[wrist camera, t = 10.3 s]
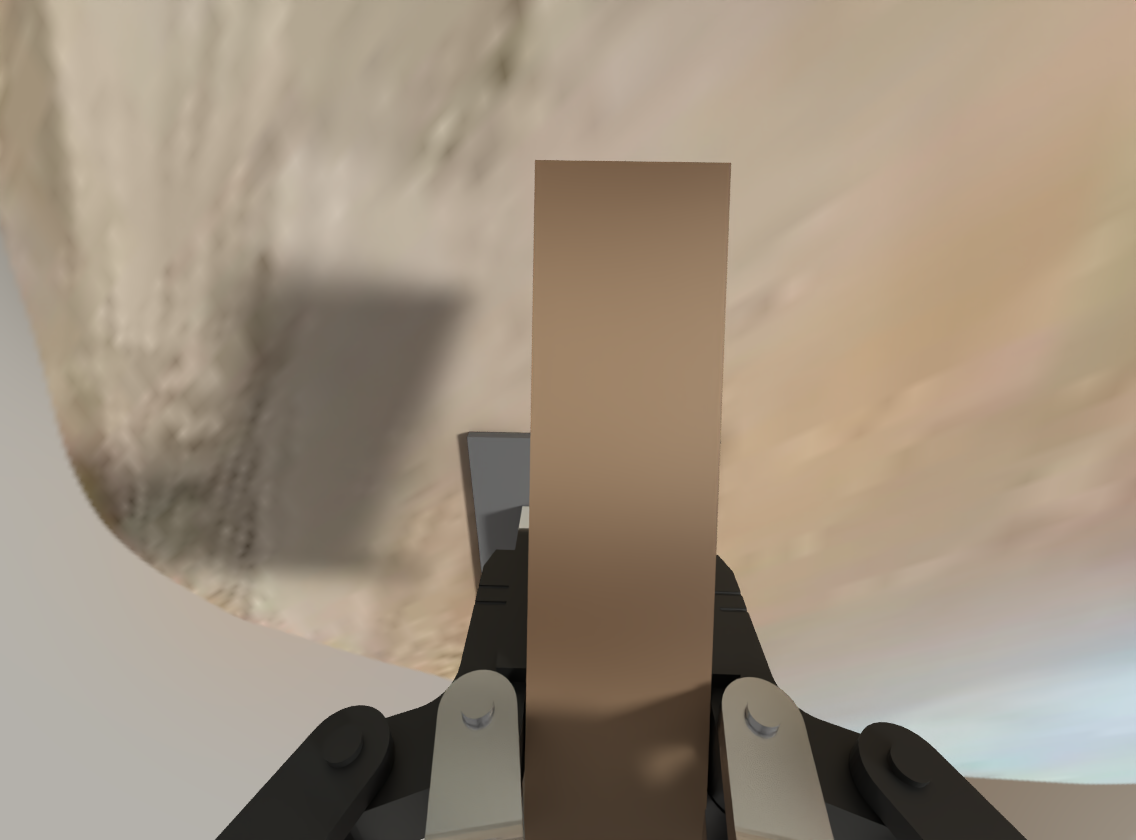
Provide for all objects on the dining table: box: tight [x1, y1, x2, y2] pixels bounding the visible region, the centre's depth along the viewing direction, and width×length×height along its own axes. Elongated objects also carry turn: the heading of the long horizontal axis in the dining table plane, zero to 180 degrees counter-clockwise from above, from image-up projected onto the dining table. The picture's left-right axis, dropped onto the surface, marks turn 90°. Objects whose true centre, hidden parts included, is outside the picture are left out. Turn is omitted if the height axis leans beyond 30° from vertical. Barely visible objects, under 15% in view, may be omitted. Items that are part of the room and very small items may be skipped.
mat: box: [467, 432, 721, 571], centre depth 25 cm, size 14×12×1 cm
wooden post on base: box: [522, 160, 731, 840], centre depth 10 cm, size 15×8×6 cm, turn 178°
